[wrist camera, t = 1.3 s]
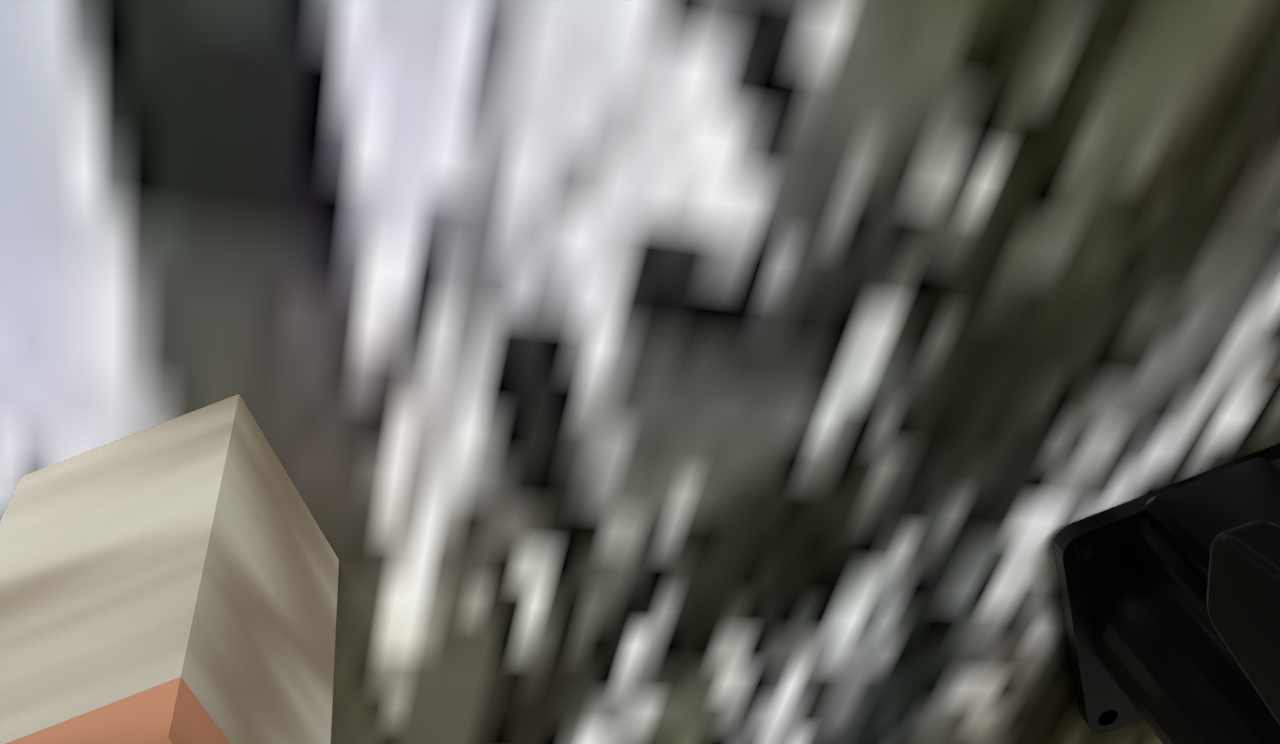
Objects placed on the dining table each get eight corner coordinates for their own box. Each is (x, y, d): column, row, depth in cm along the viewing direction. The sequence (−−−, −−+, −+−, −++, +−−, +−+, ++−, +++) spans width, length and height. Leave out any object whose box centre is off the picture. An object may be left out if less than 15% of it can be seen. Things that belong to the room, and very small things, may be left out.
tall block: (339, 560, 22) (322, 932, 15) (142, 635, 22) (36, 1043, 15) (238, 393, 20) (168, 737, 13) (21, 476, 20) (-163, 864, 13)
